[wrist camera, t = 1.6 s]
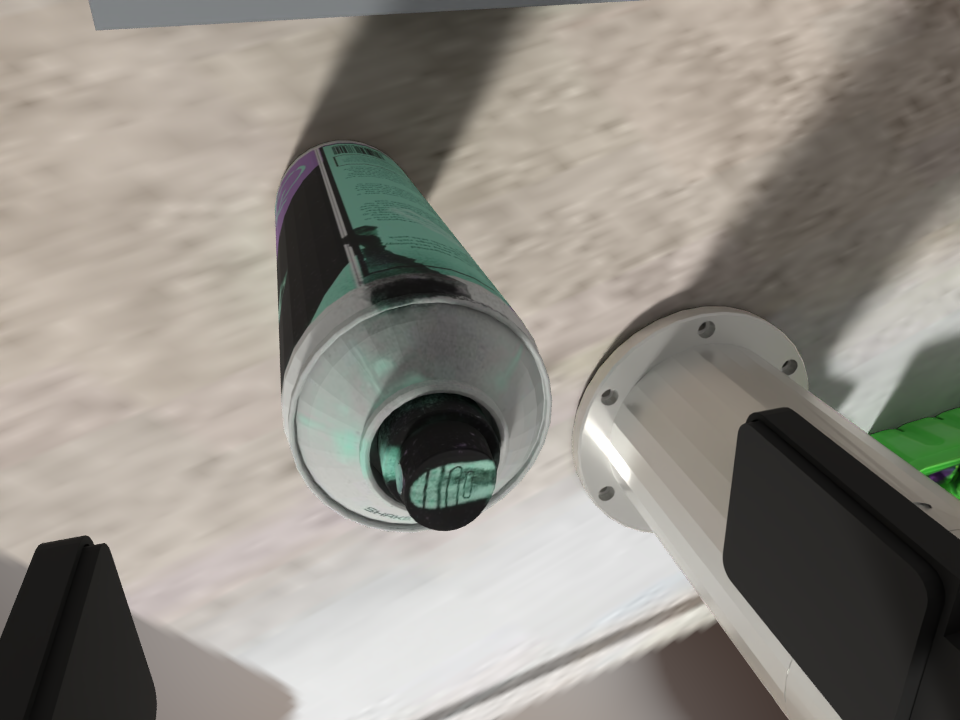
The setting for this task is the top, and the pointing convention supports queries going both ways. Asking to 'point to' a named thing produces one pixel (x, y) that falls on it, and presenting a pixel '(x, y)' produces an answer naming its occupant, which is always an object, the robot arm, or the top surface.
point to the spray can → (396, 351)
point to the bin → (277, 10)
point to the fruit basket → (929, 447)
